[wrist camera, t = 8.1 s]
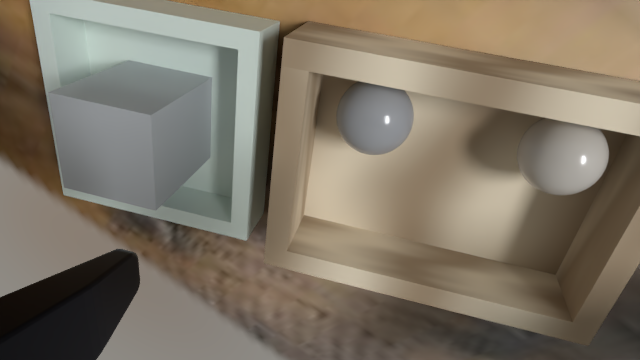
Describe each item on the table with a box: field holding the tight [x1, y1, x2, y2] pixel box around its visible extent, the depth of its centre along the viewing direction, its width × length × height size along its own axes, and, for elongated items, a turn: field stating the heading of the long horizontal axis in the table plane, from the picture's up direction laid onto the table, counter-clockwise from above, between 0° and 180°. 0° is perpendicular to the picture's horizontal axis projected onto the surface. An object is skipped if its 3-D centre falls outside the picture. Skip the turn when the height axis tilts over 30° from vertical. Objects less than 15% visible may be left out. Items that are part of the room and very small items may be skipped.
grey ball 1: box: [336, 81, 414, 155], centre depth 18 cm, size 3×3×3 cm
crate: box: [264, 21, 640, 346], centre depth 19 cm, size 14×10×4 cm
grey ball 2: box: [517, 118, 609, 195], centre depth 17 cm, size 3×3×3 cm
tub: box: [30, 0, 280, 241], centre depth 21 cm, size 10×10×2 cm
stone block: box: [48, 60, 212, 211], centre depth 19 cm, size 4×4×5 cm
